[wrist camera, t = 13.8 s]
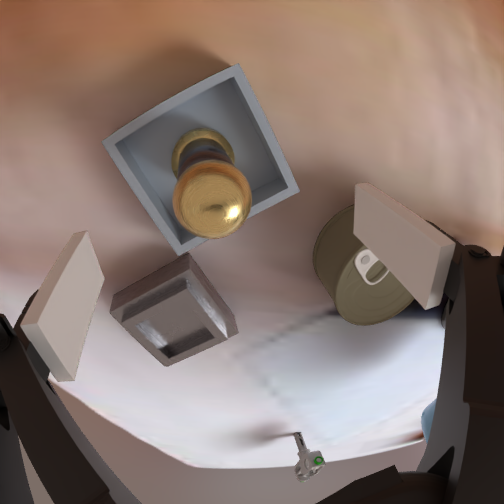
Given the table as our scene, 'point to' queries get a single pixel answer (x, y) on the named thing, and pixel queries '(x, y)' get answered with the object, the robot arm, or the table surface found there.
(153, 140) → the tray
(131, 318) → the recessed square block
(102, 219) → the table surface
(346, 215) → the can
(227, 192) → the strut
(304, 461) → the mechanical component
